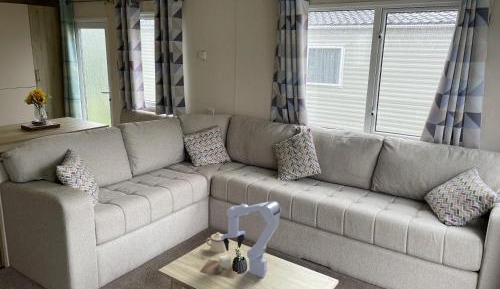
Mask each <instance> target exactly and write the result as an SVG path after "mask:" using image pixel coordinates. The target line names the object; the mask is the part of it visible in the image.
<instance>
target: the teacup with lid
mask: <svg viewBox="0 0 500 289" xmlns="http://www.w3.org/2000/svg"><path fill="white" fill-rule="evenodd" d="M222 235H224V233H220V232H218V231H217V232H216V233H214V234H211V236H210V237H207V239H206V240H205V241H206V245H208V247H210V251H211V252H213V253H217V254H218V253H219V254H223V253H225V251H226V248H225V244H224V242H223V240H222V239H221V236H222ZM209 241H210V243H209Z"/></svg>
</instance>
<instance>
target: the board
mask: <svg viewBox="0 0 500 289" xmlns="http://www.w3.org/2000/svg"><path fill="white" fill-rule="evenodd" d="M232 264H233V263H232V262H231V266H229V267H225V268H222V267H221V265H220V264H219V260H215V259H210V258H209V259H208V260H207V261H206V263H204V265H203V267H201V269H200V271H199V273H203V274H208V275H213V276H217V277H222V278H227V279H235V278H236V275H237V274H238V272H239V271H238V272H235V271H233V269H232Z"/></svg>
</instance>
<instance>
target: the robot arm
mask: <svg viewBox="0 0 500 289" xmlns="http://www.w3.org/2000/svg"><path fill="white" fill-rule="evenodd" d="M253 212H256V213H257V212H258V213H259V214H260V215H261V216H262V217H263V219H264V220H265V222H266V226H265V228H264V229H263V231H262V233H261V234H260V236H259V237H258V239H257V241H256V242H255V243H254V244H253V246H252V247H251V248H250V249H249V250H247V251H246V257H247V258H248V260H249V263H248V272H249V273H250V274H251V275H253V276H254V275H255V276H256V278H262V279H264V277H265V275H266V273H267V272H268V271H267V265H268V264H267V262H268V260H267V259H266V258H264V255H265V253H266V249H267V244H268V243H269V241H270V239H271V238H272V236H273V234H274V233H275V231H276V230H277V228H278V226H279V225H280V215H281V212H282V208H281V205H280V204H279V202H277V201H275V200H274V201H266V202H265V201H264V202H260V203H256V204H252V205H248V204H247V203H241V204H240V205H237V204H236V205H233V206H230V207H229V208H228V209H227V210H226V212H225V213H226V215H227V216H226V217H228V219H227V220H228V227H227V228H228V230H227V231H228V232H227V233H225V234H223V235H222V236H221V239H222V240H223V242H224V244H225V251H227V252H228V251H229V249H230V248H229V247H230V246H229V245H230V240H229V239H234V238H235V239H236V238H237V248H239V249H240V248H241V247H242V244H243V242H244V240H245V238H246V237H245V236H246V231H245V230H239V228H240V227H239V223H240V222H239V221H240V220H239V219H240V217H241V216H247V215H249V214H250V213H253Z"/></svg>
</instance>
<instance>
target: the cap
mask: <svg viewBox="0 0 500 289" xmlns="http://www.w3.org/2000/svg"><path fill="white" fill-rule="evenodd" d="M218 258H219V259H218V261H219V264H220V265H221V267H222V268H225V267H229V266H231V263H232V259H231V257H230V256H229V254H224V255H220V256H219V257H218Z"/></svg>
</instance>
